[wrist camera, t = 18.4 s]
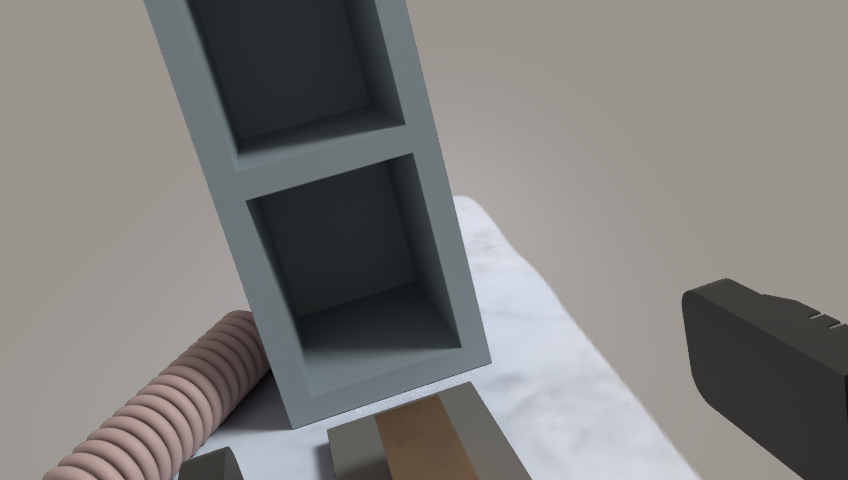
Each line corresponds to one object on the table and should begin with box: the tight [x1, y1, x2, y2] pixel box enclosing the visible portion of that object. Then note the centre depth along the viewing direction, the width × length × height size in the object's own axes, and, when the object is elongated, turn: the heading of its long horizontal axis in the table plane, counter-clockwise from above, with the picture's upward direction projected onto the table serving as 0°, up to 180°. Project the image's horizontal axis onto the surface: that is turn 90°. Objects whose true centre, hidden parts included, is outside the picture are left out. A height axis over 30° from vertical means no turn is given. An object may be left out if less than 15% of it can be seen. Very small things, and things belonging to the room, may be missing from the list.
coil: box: [42, 310, 271, 480], centre depth 42 cm, size 5×5×18 cm
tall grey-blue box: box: [144, 0, 492, 429], centre depth 43 cm, size 14×12×32 cm
